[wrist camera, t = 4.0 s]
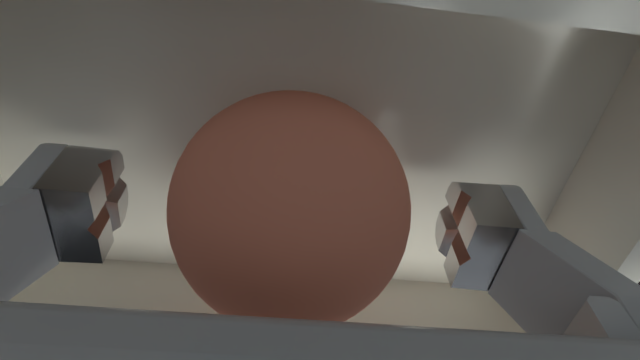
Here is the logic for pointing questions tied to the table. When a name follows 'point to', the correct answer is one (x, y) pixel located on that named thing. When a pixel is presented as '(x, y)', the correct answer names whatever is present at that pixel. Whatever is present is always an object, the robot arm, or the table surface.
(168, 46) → the white storage bin
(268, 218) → the ball
